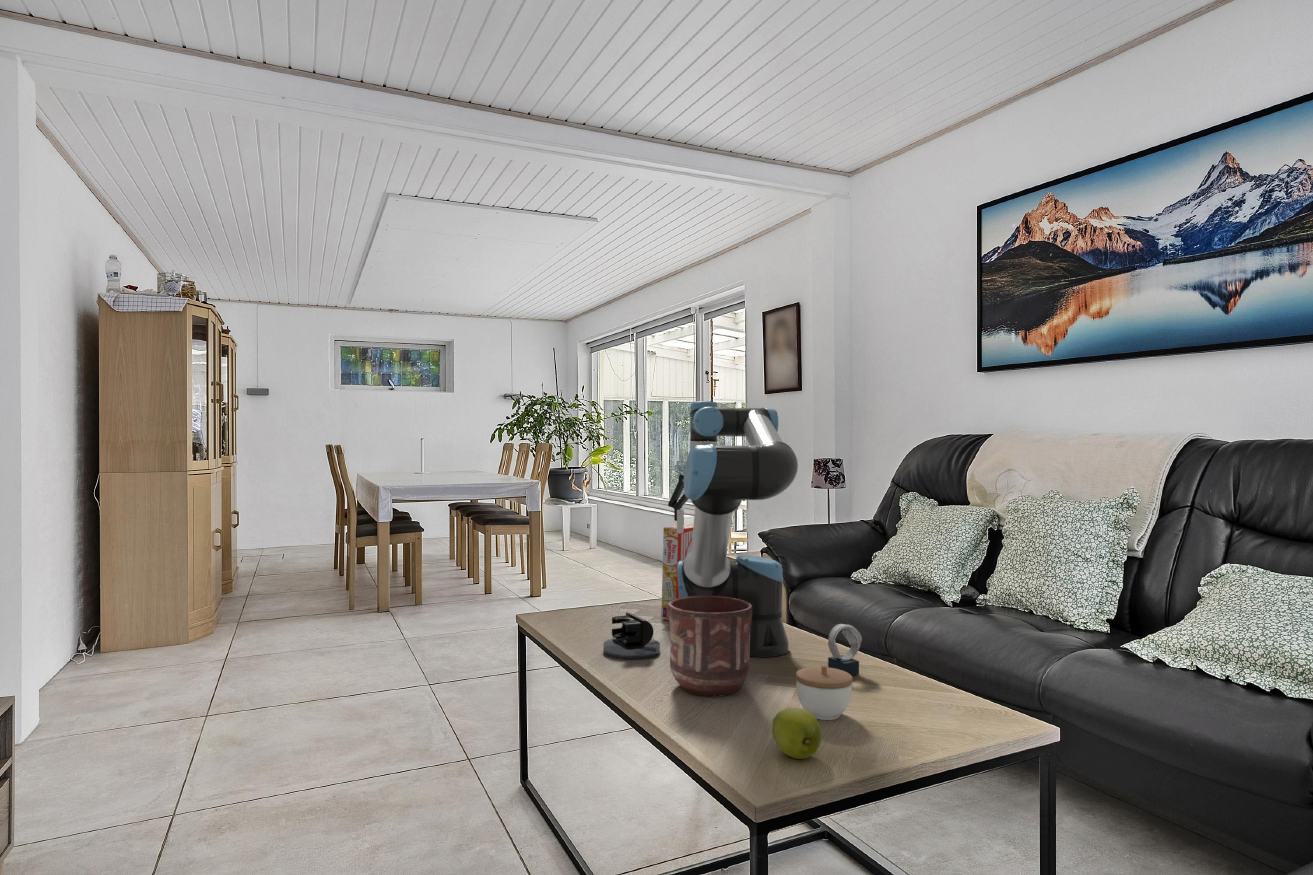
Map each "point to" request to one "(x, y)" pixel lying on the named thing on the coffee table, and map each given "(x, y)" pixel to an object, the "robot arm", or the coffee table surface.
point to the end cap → (632, 631)
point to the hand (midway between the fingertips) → (702, 534)
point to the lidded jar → (824, 691)
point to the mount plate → (631, 650)
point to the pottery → (710, 643)
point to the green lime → (796, 732)
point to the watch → (846, 661)
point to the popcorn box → (673, 562)
